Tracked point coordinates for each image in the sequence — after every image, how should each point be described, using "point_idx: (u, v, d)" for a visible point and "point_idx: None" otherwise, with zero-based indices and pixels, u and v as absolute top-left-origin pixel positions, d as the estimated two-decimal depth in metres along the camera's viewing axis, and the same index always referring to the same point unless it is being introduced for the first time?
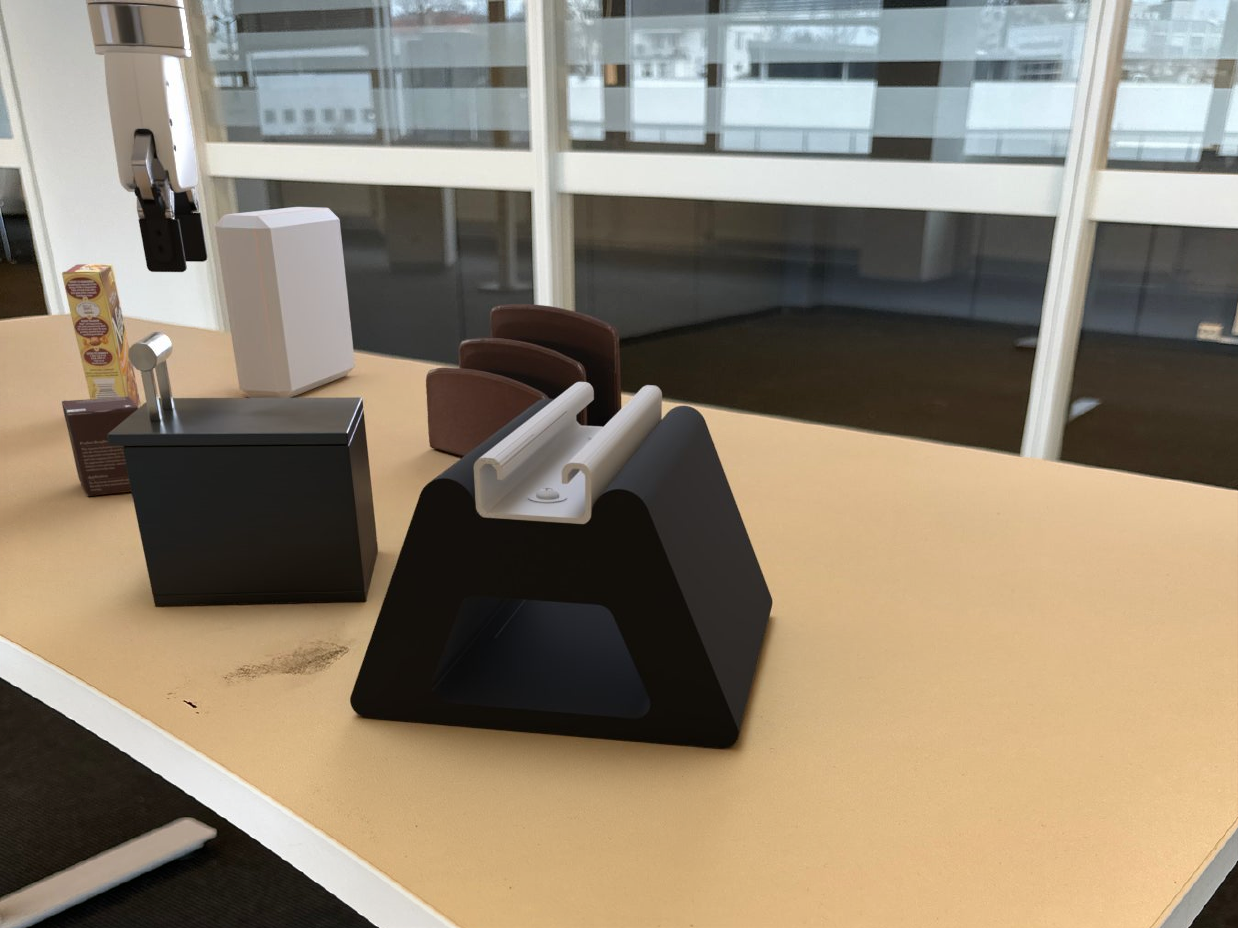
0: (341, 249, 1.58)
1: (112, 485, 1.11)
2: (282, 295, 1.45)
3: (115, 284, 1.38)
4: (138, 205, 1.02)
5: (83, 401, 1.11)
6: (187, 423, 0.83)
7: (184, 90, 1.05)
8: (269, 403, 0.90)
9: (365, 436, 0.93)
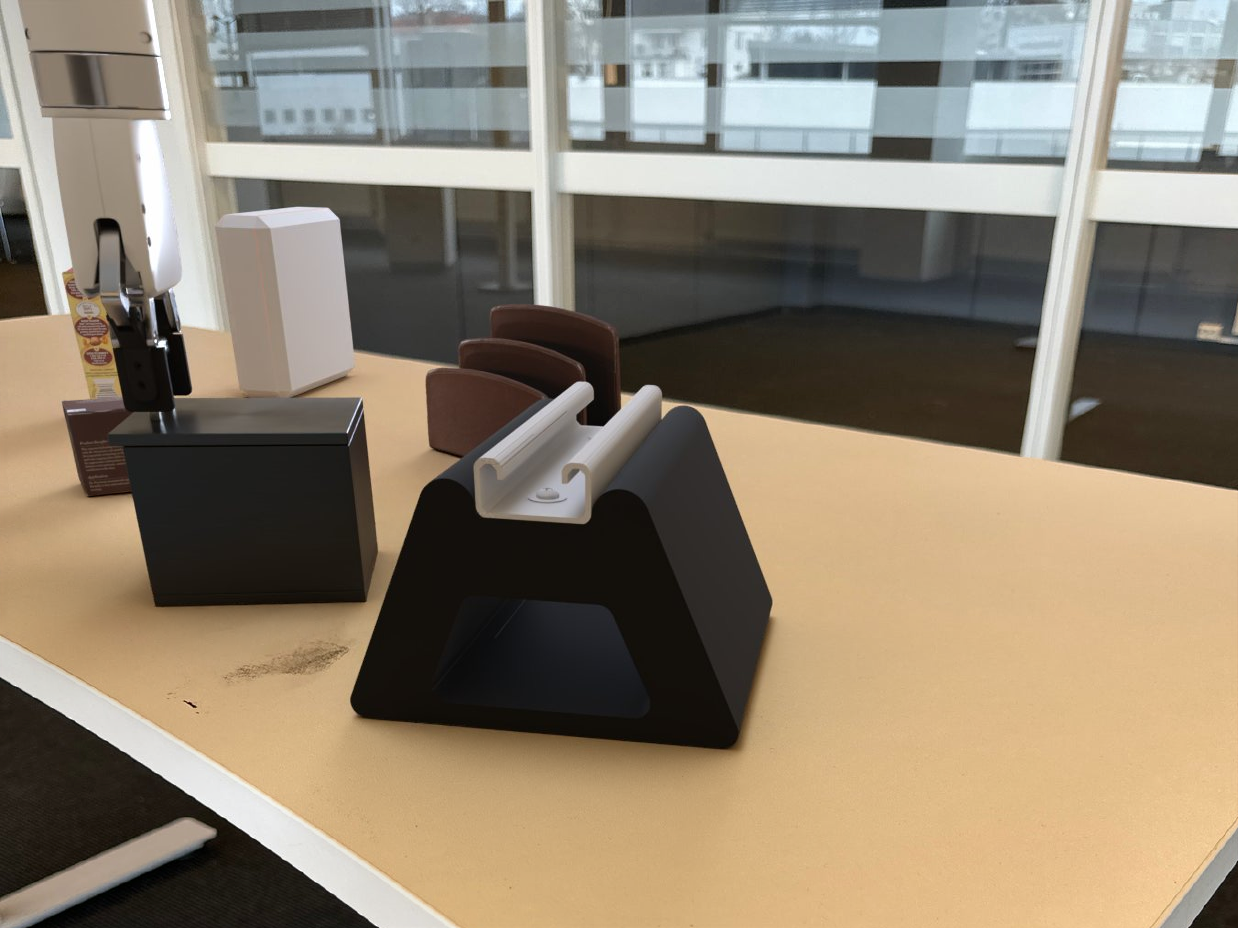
0: (341, 249, 1.58)
1: (112, 485, 1.11)
2: (282, 295, 1.45)
3: None
4: (112, 335, 0.79)
5: (83, 401, 1.11)
6: (187, 423, 0.83)
7: (162, 162, 0.80)
8: (269, 403, 0.90)
9: (365, 436, 0.93)
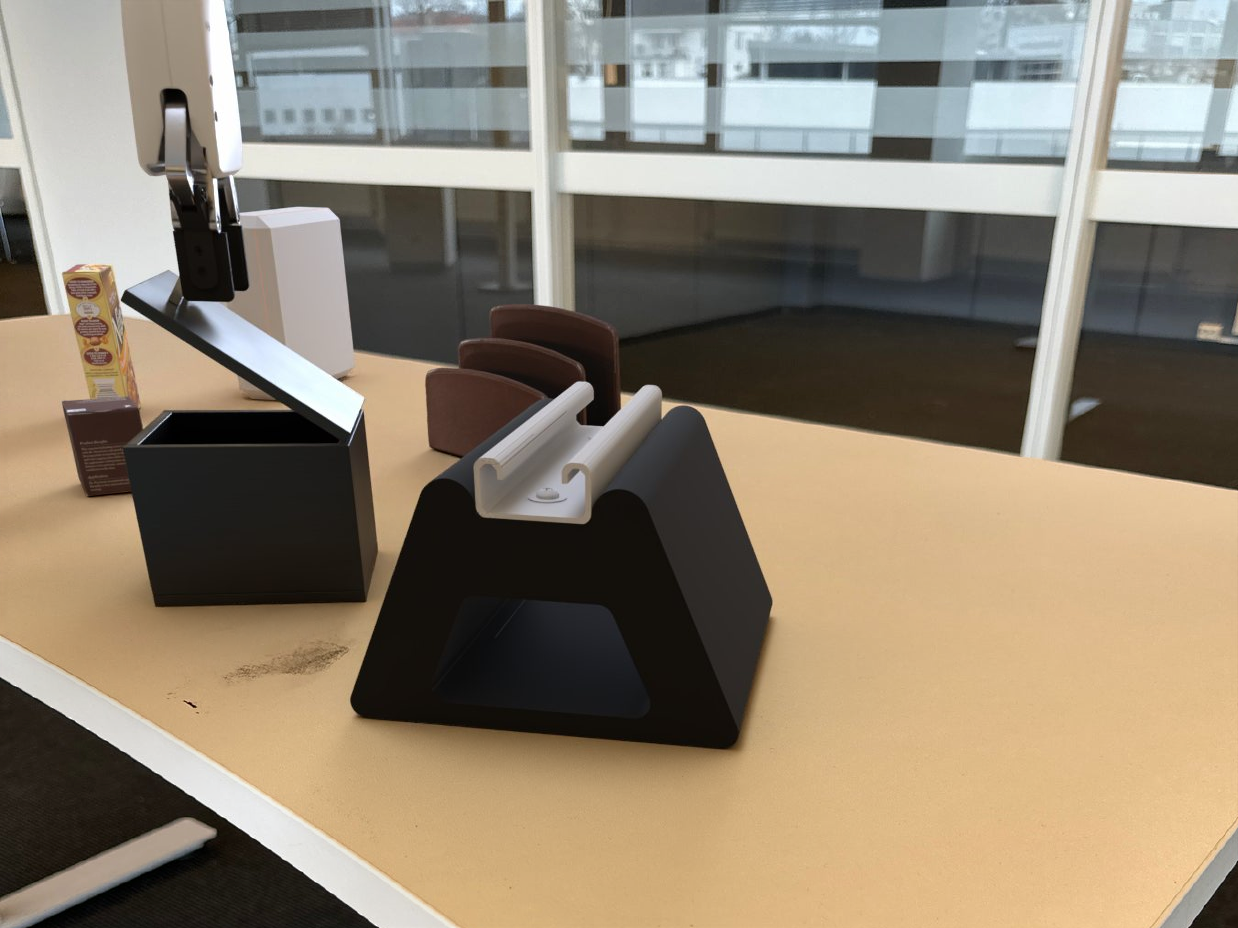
0: (341, 249, 1.58)
1: (112, 485, 1.11)
2: (282, 295, 1.45)
3: (115, 284, 1.38)
4: (173, 216, 0.76)
5: (83, 401, 1.11)
6: (203, 326, 0.80)
7: None
8: (281, 350, 0.88)
9: (365, 436, 0.93)
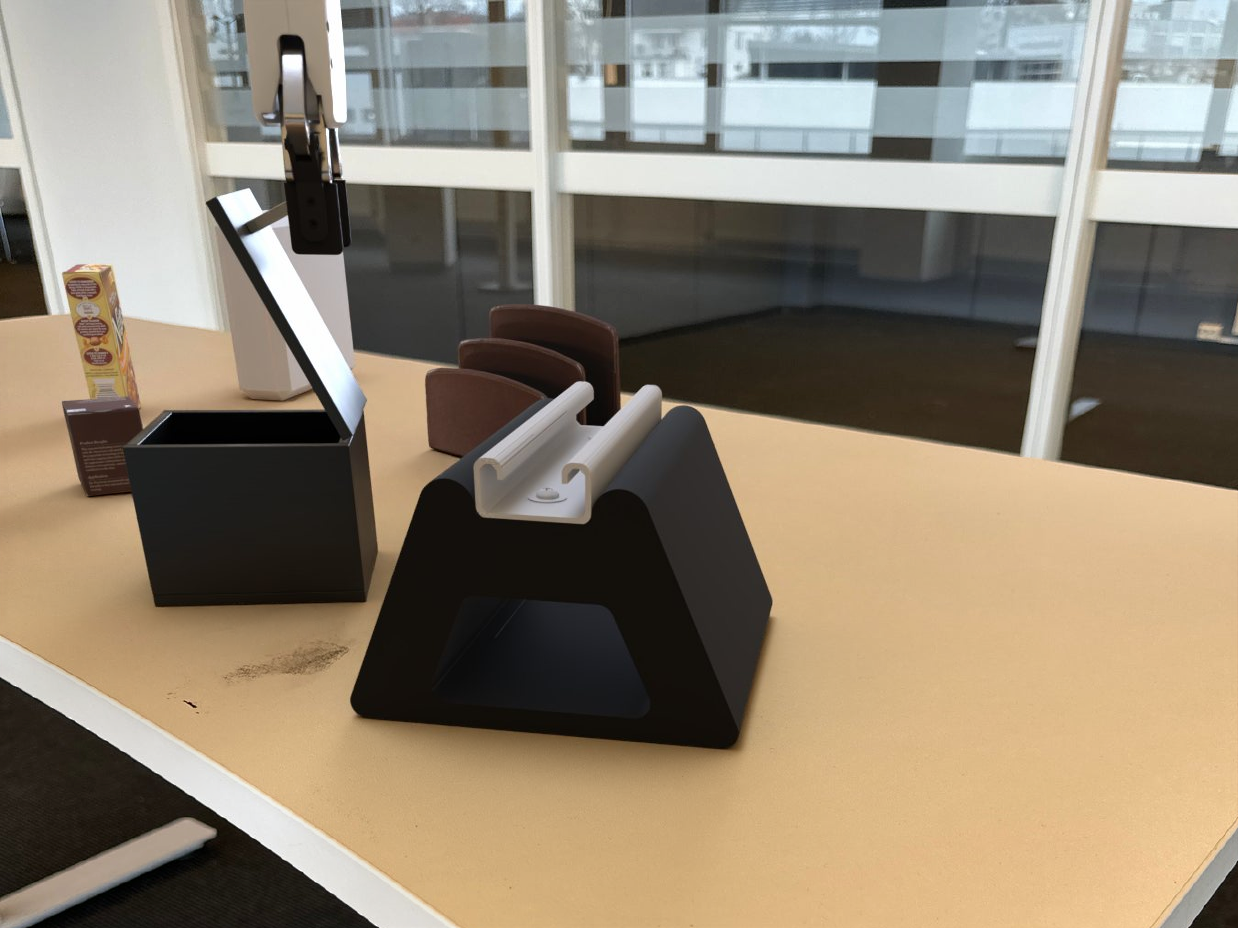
0: None
1: (112, 485, 1.11)
2: None
3: (115, 284, 1.38)
4: (286, 167, 0.75)
5: (83, 401, 1.11)
6: (266, 265, 0.79)
7: None
8: (316, 319, 0.87)
9: (365, 436, 0.93)
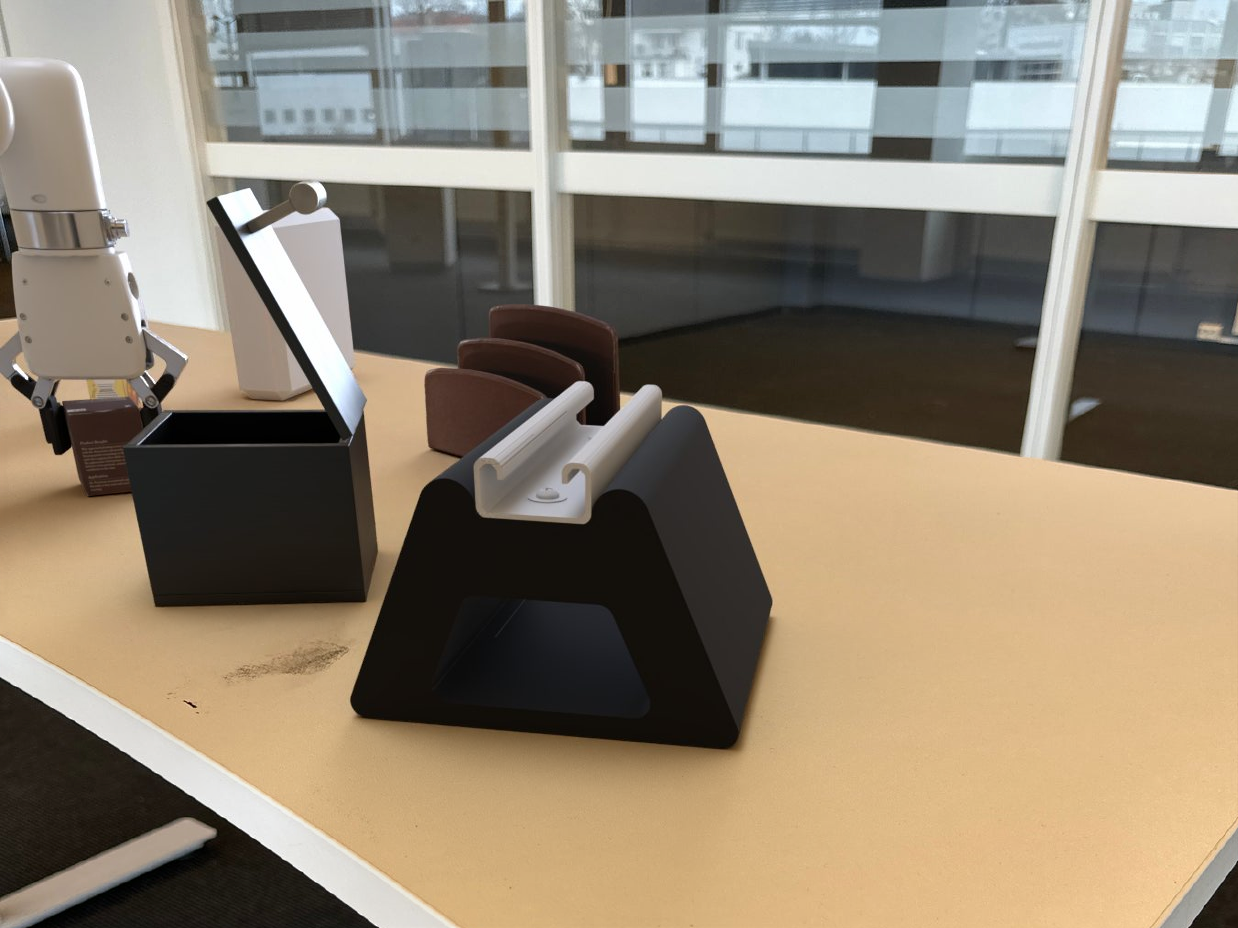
0: (341, 249, 1.58)
1: (112, 485, 1.11)
2: None
3: None
4: None
5: (83, 401, 1.11)
6: (266, 265, 0.79)
7: (94, 286, 1.03)
8: (316, 319, 0.87)
9: (365, 436, 0.93)
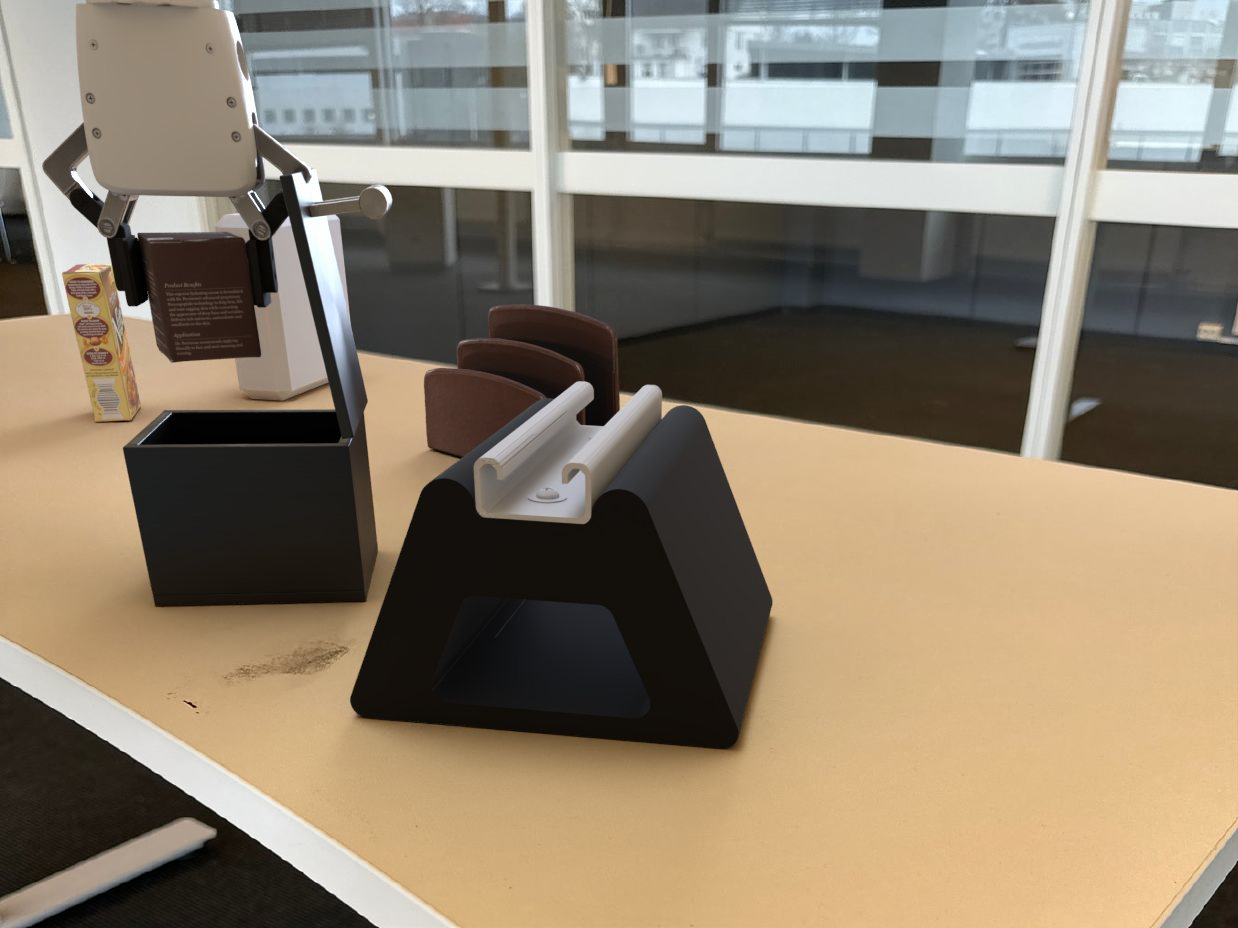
0: (341, 249, 1.58)
1: (205, 348, 0.81)
2: (282, 295, 1.45)
3: (115, 284, 1.38)
4: None
5: (167, 233, 0.81)
6: (317, 251, 0.79)
7: (192, 54, 0.73)
8: (343, 312, 0.87)
9: (365, 436, 0.93)
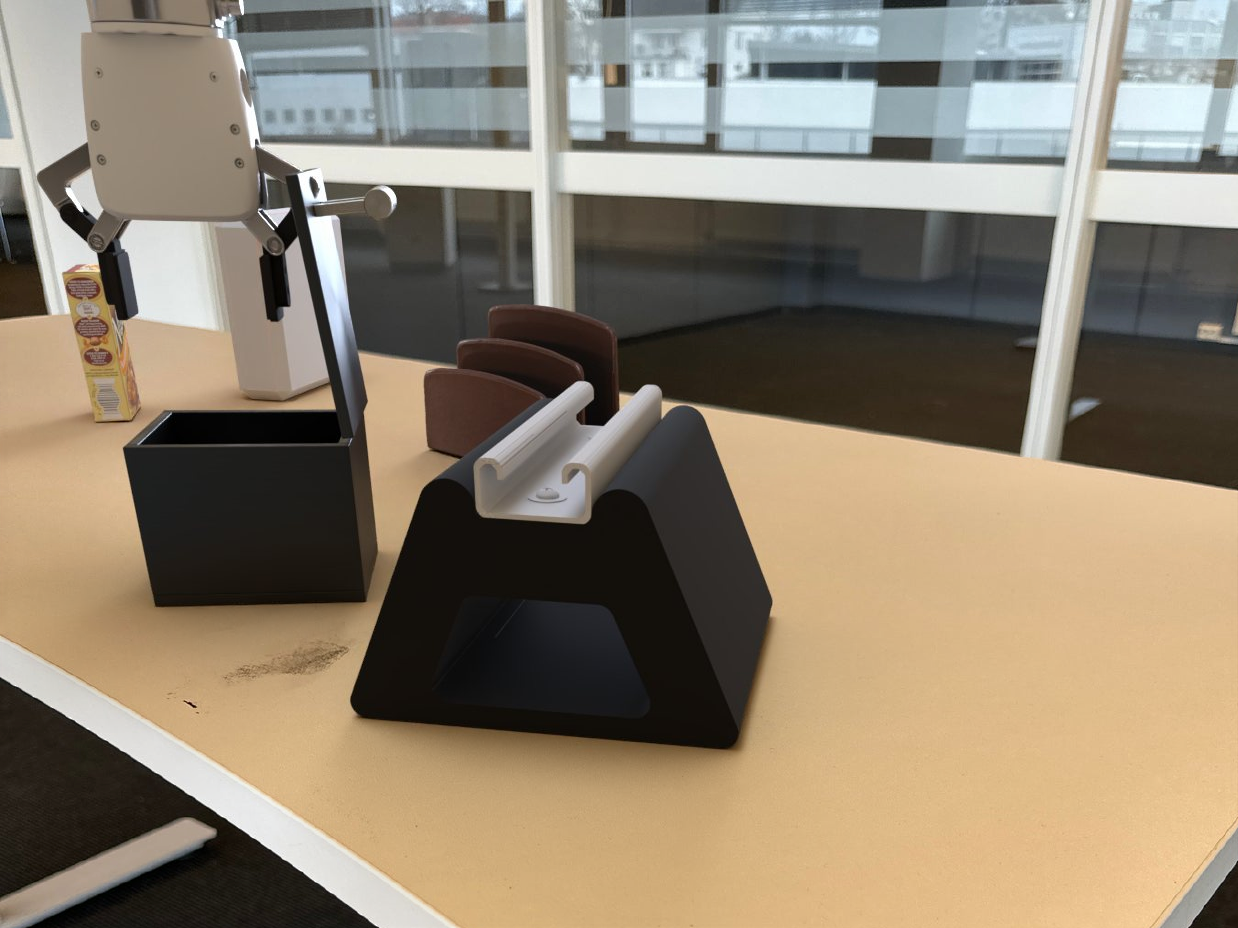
0: (341, 249, 1.58)
1: None
2: None
3: None
4: None
5: None
6: (320, 251, 0.79)
7: (196, 82, 0.74)
8: (345, 312, 0.87)
9: (365, 436, 0.93)
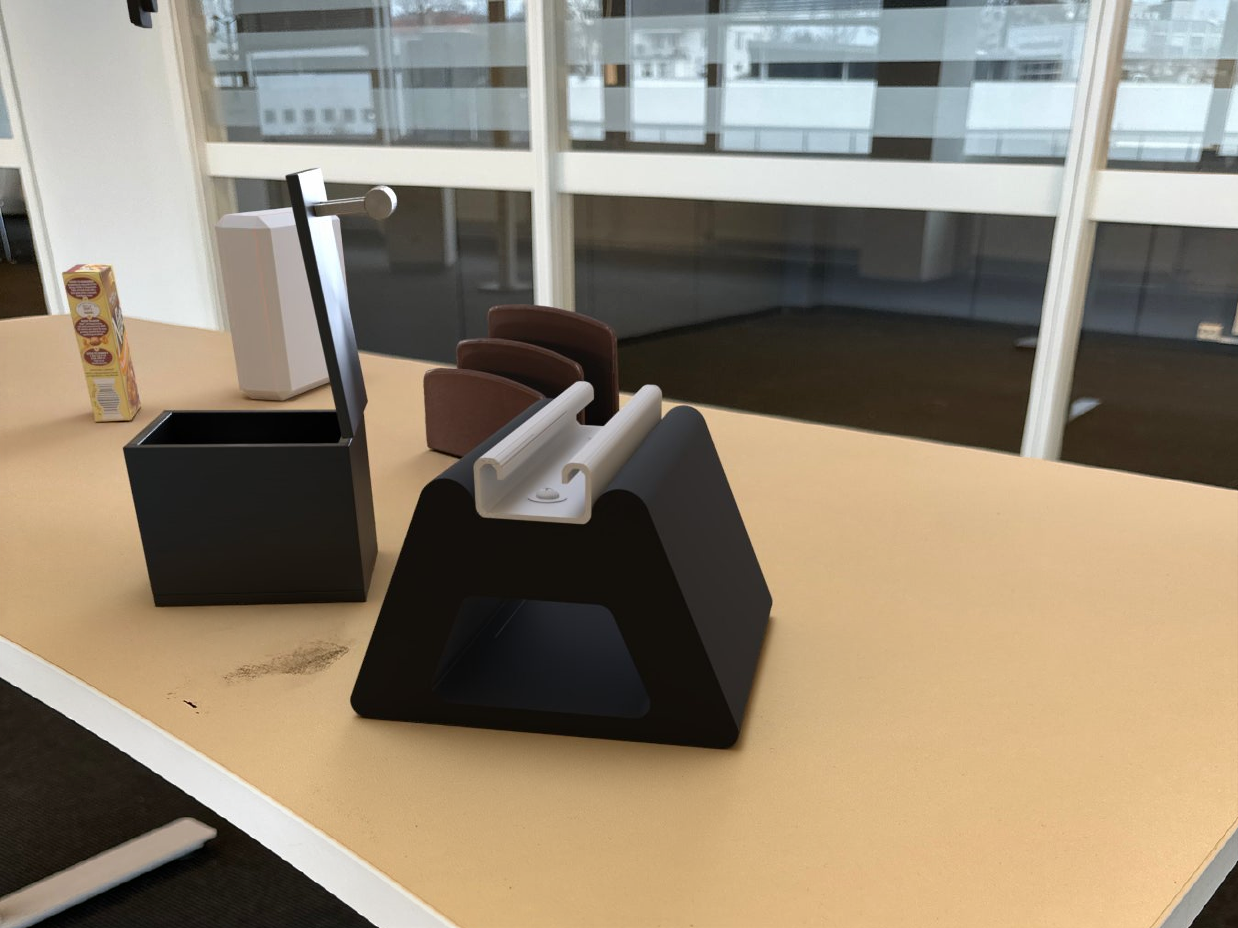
0: (341, 249, 1.58)
1: None
2: (282, 295, 1.45)
3: (115, 284, 1.38)
4: None
5: None
6: (321, 251, 0.79)
7: None
8: (346, 312, 0.87)
9: (365, 436, 0.93)
